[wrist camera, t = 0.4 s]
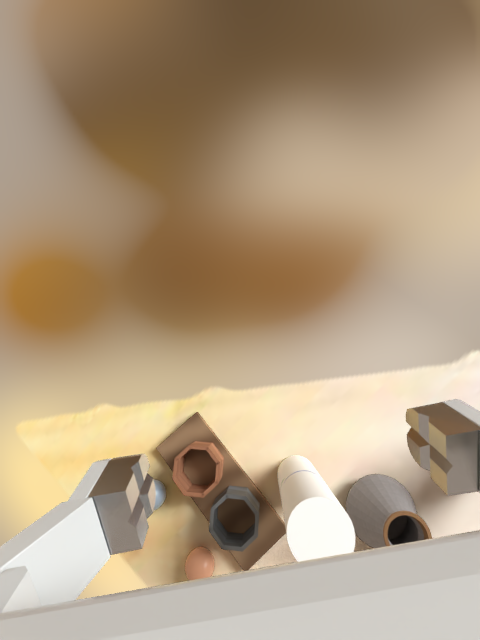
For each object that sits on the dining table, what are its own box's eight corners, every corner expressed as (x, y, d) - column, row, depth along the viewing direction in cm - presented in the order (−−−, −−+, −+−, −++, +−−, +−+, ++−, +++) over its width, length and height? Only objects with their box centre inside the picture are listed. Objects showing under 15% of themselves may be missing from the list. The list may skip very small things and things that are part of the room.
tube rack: (287, 526, 54) (290, 543, 48) (245, 567, 53) (243, 590, 47) (197, 412, 60) (190, 413, 54) (158, 446, 59) (146, 452, 53)
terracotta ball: (222, 560, 54) (217, 576, 49) (200, 581, 53) (194, 599, 48) (204, 535, 55) (198, 548, 50) (183, 555, 54) (175, 570, 49)
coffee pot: (331, 518, 54) (355, 562, 39) (357, 457, 56) (390, 478, 41) (451, 592, 50) (527, 671, 35) (474, 524, 52) (556, 573, 37)
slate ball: (174, 492, 57) (166, 501, 52) (154, 511, 56) (143, 522, 52) (159, 470, 58) (149, 477, 53) (138, 489, 58) (127, 497, 53)
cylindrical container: (324, 476, 56) (369, 536, 31) (297, 506, 55) (323, 591, 31) (295, 446, 57) (318, 481, 33) (269, 474, 56) (272, 532, 32)
